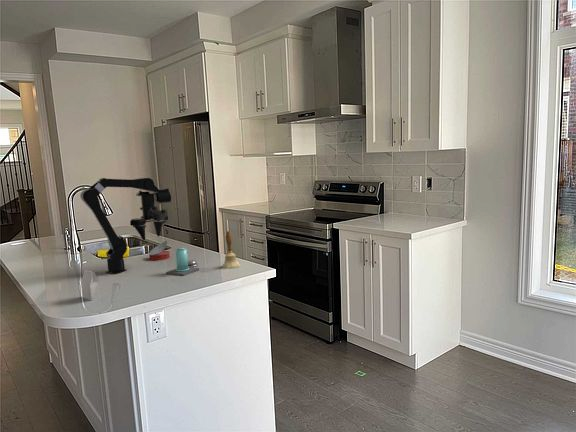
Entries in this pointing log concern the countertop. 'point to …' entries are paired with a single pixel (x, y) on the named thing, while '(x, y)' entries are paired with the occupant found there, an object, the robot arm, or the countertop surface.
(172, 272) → the mat
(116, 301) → the countertop surface
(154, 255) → the canned food
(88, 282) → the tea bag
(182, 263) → the teal cylinder
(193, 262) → the metal domed disc
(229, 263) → the hand bell
